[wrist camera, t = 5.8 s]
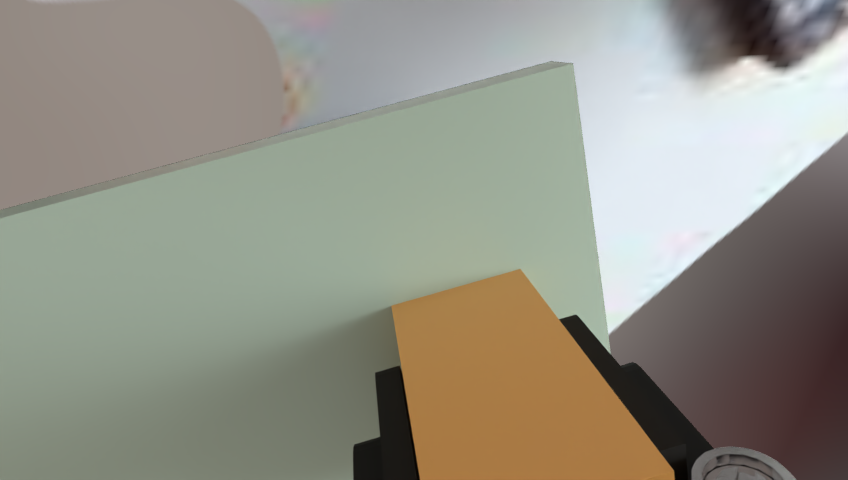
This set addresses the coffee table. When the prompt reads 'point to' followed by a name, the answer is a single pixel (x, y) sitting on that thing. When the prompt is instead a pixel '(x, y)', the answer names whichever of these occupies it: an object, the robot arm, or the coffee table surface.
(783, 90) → the coffee table surface
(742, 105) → the coffee table surface
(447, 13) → the coffee table surface
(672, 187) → the coffee table surface
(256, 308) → the lid
